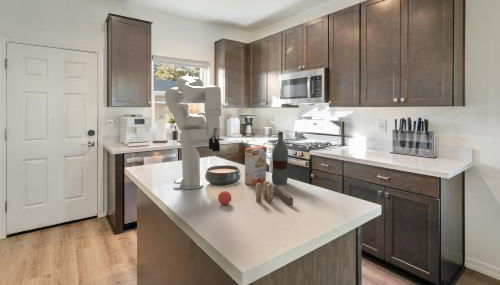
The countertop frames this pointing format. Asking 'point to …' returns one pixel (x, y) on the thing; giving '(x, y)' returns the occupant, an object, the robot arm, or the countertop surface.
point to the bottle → (280, 162)
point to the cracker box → (255, 165)
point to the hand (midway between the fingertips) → (214, 150)
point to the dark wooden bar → (283, 195)
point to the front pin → (258, 192)
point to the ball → (224, 197)
